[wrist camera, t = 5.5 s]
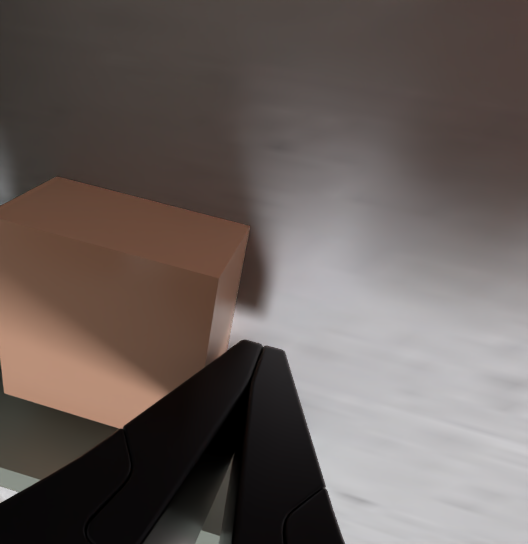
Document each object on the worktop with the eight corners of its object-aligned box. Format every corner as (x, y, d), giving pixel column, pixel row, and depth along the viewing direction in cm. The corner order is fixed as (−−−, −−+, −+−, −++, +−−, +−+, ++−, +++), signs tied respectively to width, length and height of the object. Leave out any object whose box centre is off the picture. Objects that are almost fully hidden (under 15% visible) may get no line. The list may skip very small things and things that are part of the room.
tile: (226, 369, 12) (191, 450, 10) (70, 324, 12) (3, 393, 10) (254, 218, 10) (219, 278, 8) (68, 170, 10) (-16, 214, 8)
